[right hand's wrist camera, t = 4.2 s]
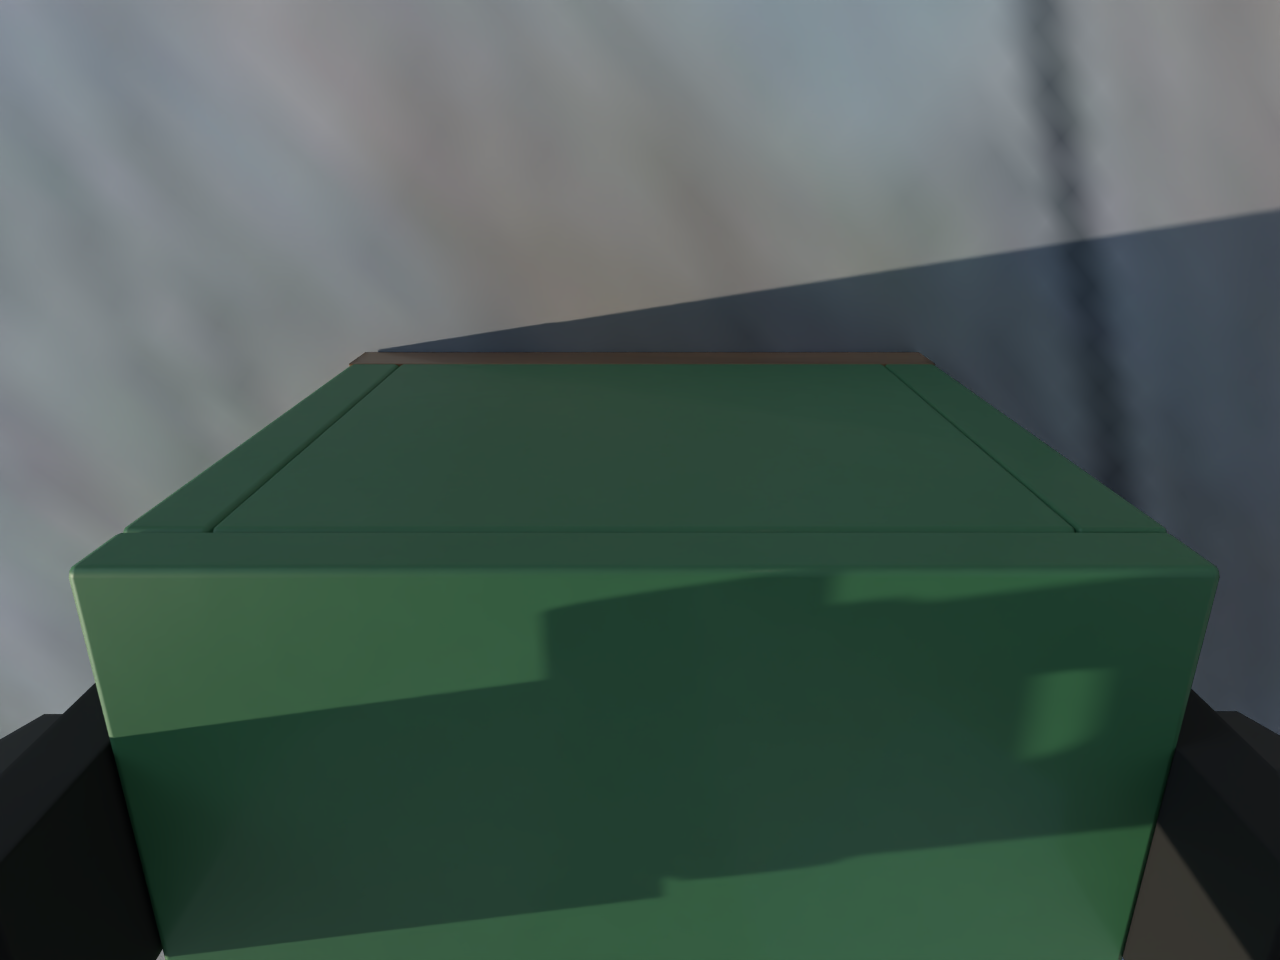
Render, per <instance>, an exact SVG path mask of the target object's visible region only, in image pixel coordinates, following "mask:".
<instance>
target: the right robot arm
mask: <svg viewBox="0 0 1280 960" xmlns="http://www.w3.org/2000/svg"><path fill="white" fill-rule="evenodd" d="M162 949H163V948H162V944H161V940H160V936H159V932H158V928H157V924H156V920H155V916H154V912H153V908H152V904H151V900H150V896H149V893H148V889H147V885H146V881H145V877H144V873H143V869H142V865H141V861H140V857H139V853H138V849H137V845H136V841H135V837H134V833H133V829H132V825H131V821H130V817H129V813H128V809H127V805H126V801H125V798H124V794H123V790H122V786H121V782H120V778H119V774H118V770H117V766H116V762H115V758H114V754H113V750H112V746H111V742H110V738H109V734H108V730H107V726H106V722H105V718H104V714H103V710H102V706H101V702H100V699H99V695H98V691H97V687H96V683H95V684H94V685H93V686H92V687H90V688H89V689H88V690H87V691H86V692H85V693H84V694H83V695H82V696H81V697H80V698H79V699H78V700H77V701H76V702H75V703H74V704H73V705H72V706H71V707H70V708H69V709H68V710H67V711H66V712H64V713H63V714H44V715H42V716H40V717H38V718H37V719H35V720H33V721H31V722H30V723H28V724H26V725H25V726H23V727H21V728H19V729H18V730H16V731H14V732H12V733H11V734H9V735H7V736H5V737H4V738H2V739H0V960H156V959H157V957H158V956H159V954H160V952H161V951H162ZM1122 957H1123V958H1124V960H1280V735H1278V734H1276V733H1274V732H1273V731H1271V730H1269V729H1267V728H1265V727H1264V726H1262V725H1260V724H1258V723H1257V722H1255V721H1253V720H1251V719H1250V718H1248V717H1246V716H1244V715H1243V714H1241V713H1239V712H1237V711H1214V710H1213V709H1212V708H1211V707H1210V706H1209V705H1208V704H1207V703H1206V702H1205V701H1204V700H1203V699H1201V698H1200V697H1199V696H1198V695H1197V694H1196V693H1195V692H1194V691H1193V690H1192V689H1191V690H1190V694H1189V698H1188V702H1187V706H1186V710H1185V714H1184V718H1183V722H1182V725H1181V729H1180V733H1179V737H1178V741H1177V745H1176V748H1175V752H1174V756H1173V760H1172V764H1171V768H1170V772H1169V776H1168V780H1167V783H1166V787H1165V791H1164V795H1163V799H1162V803H1161V807H1160V811H1159V815H1158V819H1157V823H1156V826H1155V830H1154V834H1153V838H1152V842H1151V846H1150V850H1149V854H1148V858H1147V862H1146V865H1145V869H1144V873H1143V877H1142V881H1141V885H1140V889H1139V893H1138V897H1137V901H1136V904H1135V908H1134V912H1133V916H1132V920H1131V924H1130V928H1129V932H1128V936H1127V940H1126V944H1125V947H1124V951H1123V955H1122Z"/></svg>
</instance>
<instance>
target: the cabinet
mask: <svg viewBox="0 0 1280 960" xmlns="http://www.w3.org/2000/svg"><path fill="white" fill-rule="evenodd" d="M69 580H70V584H71V588H72V592H73V596H74V600H75V603H76V607H77V611H78V615H79V619H80V623H81V627H82V631H83V635H84V639H85V643H86V647H87V651H88V655H89V659H90V663H91V667H92V671H93V675H94V679H95V683H96V687H97V691H98V695H99V699H100V702H101V706H102V710H103V714H104V718H105V722H106V726H107V730H108V734H109V738H110V742H111V746H112V750H113V754H114V758H115V762H116V766H117V770H118V774H119V778H120V782H121V786H122V790H123V794H124V798H125V801H126V805H127V809H128V813H129V817H130V821H131V825H132V829H133V833H134V837H135V841H136V845H137V849H138V853H139V857H140V861H141V865H142V869H143V873H144V877H145V881H146V885H147V889H148V893H149V896H150V900H151V904H152V908H153V912H154V916H155V920H156V924H157V928H158V932H159V936H160V940H161V944H162V948H163V952H164V956H165V960H1122V955H1123V951H1124V947H1125V944H1126V940H1127V936H1128V932H1129V928H1130V924H1131V920H1132V916H1133V912H1134V908H1135V904H1136V901H1137V897H1138V893H1139V889H1140V885H1141V881H1142V877H1143V873H1144V869H1145V865H1146V862H1147V858H1148V854H1149V850H1150V846H1151V842H1152V838H1153V834H1154V830H1155V826H1156V823H1157V819H1158V815H1159V811H1160V807H1161V803H1162V799H1163V795H1164V791H1165V787H1166V783H1167V780H1168V776H1169V772H1170V768H1171V764H1172V760H1173V756H1174V752H1175V748H1176V745H1177V741H1178V737H1179V733H1180V729H1181V725H1182V722H1183V718H1184V714H1185V710H1186V706H1187V702H1188V698H1189V694H1190V690H1191V686H1192V683H1193V679H1194V675H1195V671H1196V667H1197V663H1198V659H1199V655H1200V651H1201V647H1202V644H1203V640H1204V636H1205V632H1206V628H1207V624H1208V620H1209V616H1210V612H1211V608H1212V605H1213V601H1214V597H1215V593H1216V589H1217V585H1218V581H1219V571H1218V569H1217V567H1216V566H1215V565H1213V564H1212V563H1210V562H1209V561H1208V560H1206V559H1205V558H1203V557H1202V556H1200V555H1199V554H1198V553H1196V552H1195V551H1193V550H1192V549H1191V548H1189V547H1188V546H1186V545H1185V544H1184V543H1182V542H1181V541H1179V540H1178V539H1176V538H1175V537H1174V536H1172V535H1170V534H1167V532H1166V529H1165V528H1164V527H1163V526H1161V525H1160V524H1159V523H1157V522H1156V521H1154V520H1153V519H1152V518H1150V517H1149V516H1147V515H1146V514H1144V513H1143V512H1142V511H1140V510H1139V509H1137V508H1136V507H1135V506H1133V505H1132V504H1130V503H1129V502H1127V501H1126V500H1125V499H1123V498H1122V497H1120V496H1119V495H1118V494H1116V493H1115V492H1113V491H1112V490H1110V489H1109V488H1108V487H1106V486H1105V485H1103V484H1102V483H1100V482H1099V481H1098V480H1096V479H1095V478H1093V477H1092V476H1091V475H1089V474H1088V473H1086V472H1085V471H1083V470H1082V469H1081V468H1079V467H1078V466H1076V465H1075V464H1074V463H1072V462H1071V461H1069V460H1068V459H1066V458H1065V457H1064V456H1062V455H1061V454H1059V453H1058V452H1056V451H1055V450H1054V449H1052V448H1051V447H1049V446H1048V445H1047V444H1045V443H1044V442H1042V441H1041V440H1039V439H1038V438H1037V437H1035V436H1034V435H1032V434H1031V433H1030V432H1028V431H1027V430H1025V429H1024V428H1022V427H1021V426H1020V425H1018V424H1017V423H1015V422H1014V421H1013V420H1011V419H1010V418H1008V417H1007V416H1005V415H1004V414H1003V413H1001V412H1000V411H998V410H997V409H995V408H994V407H993V406H991V405H990V404H988V403H987V402H986V401H984V400H983V399H981V398H980V397H978V396H977V395H976V394H974V393H973V392H971V391H970V390H969V389H967V388H966V387H964V386H963V385H961V384H960V383H959V382H957V381H956V380H954V379H953V378H952V377H950V376H949V375H947V374H946V373H944V372H943V371H942V370H940V369H939V368H937V367H936V366H935V363H933V362H932V361H930V360H929V359H927V358H926V357H925V356H923V355H922V354H920V353H919V352H365V353H364V354H362V355H361V356H359V357H358V358H357V359H355V360H354V361H352V362H351V363H350V364H349V367H348V368H347V369H346V370H344V371H343V372H341V373H340V374H339V375H337V376H336V377H334V378H333V379H332V380H330V381H329V382H327V383H326V384H325V385H323V386H322V387H320V388H319V389H318V390H316V391H315V392H314V393H312V394H311V395H309V396H308V397H307V398H305V399H304V400H302V401H301V402H300V403H298V404H297V405H295V406H294V407H293V408H291V409H290V410H288V411H287V412H286V413H284V414H283V415H282V416H280V417H279V418H277V419H276V420H275V421H273V422H272V423H270V424H269V425H268V426H266V427H265V428H263V429H262V430H261V431H259V432H258V433H256V434H255V435H254V436H252V437H251V438H250V439H248V440H247V441H245V442H244V443H243V444H241V445H240V446H238V447H237V448H236V449H234V450H233V451H231V452H230V453H229V454H227V455H226V456H224V457H223V458H222V459H220V460H219V461H217V462H216V463H215V464H213V465H212V466H211V467H209V468H208V469H206V470H205V471H204V472H202V473H201V474H199V475H198V476H197V477H195V478H194V479H192V480H191V481H190V482H188V483H187V484H185V485H184V486H183V487H181V488H180V489H179V490H177V491H176V492H174V493H173V494H172V495H170V496H169V497H167V498H166V499H165V500H163V501H162V502H160V503H159V504H158V505H156V506H155V507H153V508H152V509H151V510H149V511H148V512H147V513H145V514H144V515H142V516H141V517H140V518H138V519H137V520H135V521H134V522H133V523H131V524H130V525H128V526H127V527H126V528H125V529H124V533H120V534H118V535H115V536H114V537H113V538H111V539H110V540H108V541H107V542H106V543H104V544H103V545H102V546H100V547H99V548H97V549H96V550H95V551H93V552H92V553H90V554H89V555H88V556H86V557H85V558H83V559H82V560H81V561H79V562H78V563H77V564H75V565H74V566H72V567H71V569H70V572H69Z"/></svg>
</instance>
